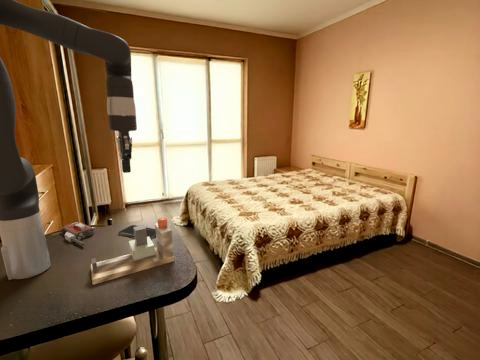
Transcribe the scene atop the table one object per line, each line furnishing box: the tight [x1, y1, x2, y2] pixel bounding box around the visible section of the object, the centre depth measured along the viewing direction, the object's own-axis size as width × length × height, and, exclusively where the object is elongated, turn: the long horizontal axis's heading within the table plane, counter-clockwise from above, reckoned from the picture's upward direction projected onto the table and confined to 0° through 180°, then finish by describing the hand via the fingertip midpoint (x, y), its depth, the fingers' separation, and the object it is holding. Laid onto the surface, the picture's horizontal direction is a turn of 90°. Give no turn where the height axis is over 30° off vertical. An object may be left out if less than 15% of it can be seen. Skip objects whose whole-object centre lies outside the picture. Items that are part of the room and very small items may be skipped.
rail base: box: [90, 222, 175, 285], centre depth 76 cm, size 22×9×10 cm, turn 121°
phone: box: [118, 224, 156, 240], centre depth 98 cm, size 8×1×15 cm
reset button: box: [157, 217, 169, 228], centre depth 79 cm, size 3×3×2 cm
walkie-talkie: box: [60, 221, 95, 246], centre depth 96 cm, size 9×4×20 cm
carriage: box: [128, 224, 156, 260], centre depth 77 cm, size 6×7×8 cm
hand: (126, 172), depth 79 cm, fingers closed
